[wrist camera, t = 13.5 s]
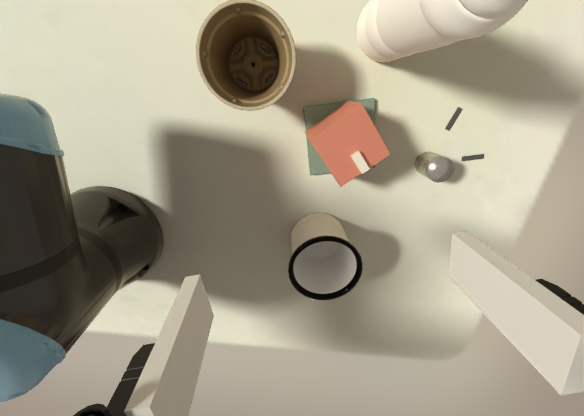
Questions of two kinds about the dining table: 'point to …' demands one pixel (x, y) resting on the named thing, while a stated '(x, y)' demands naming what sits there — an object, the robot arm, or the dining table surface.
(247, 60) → the flower pot
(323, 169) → the pad
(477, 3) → the water bottle
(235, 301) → the dining table surface
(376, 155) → the orange box with tab
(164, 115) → the dining table surface
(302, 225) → the mug
